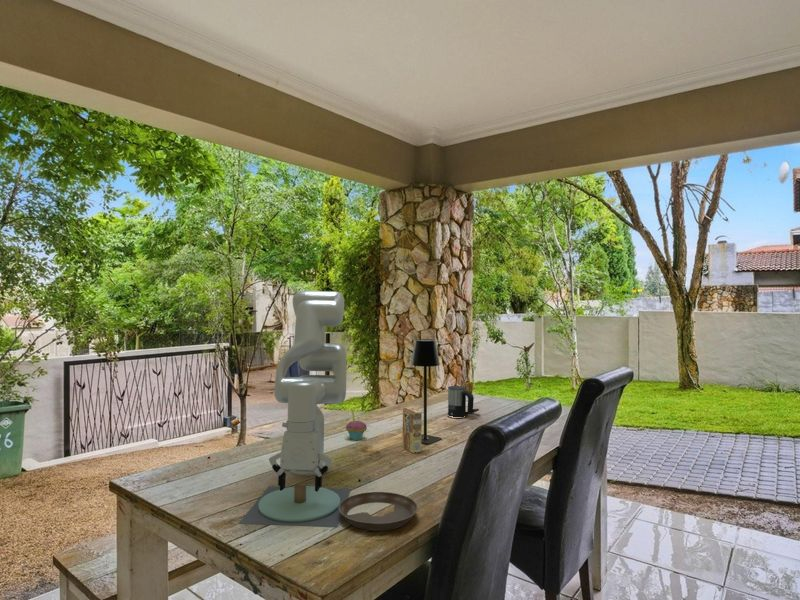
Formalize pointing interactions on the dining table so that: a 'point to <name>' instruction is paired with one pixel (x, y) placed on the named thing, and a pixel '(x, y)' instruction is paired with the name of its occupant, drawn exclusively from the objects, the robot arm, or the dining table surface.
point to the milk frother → (459, 401)
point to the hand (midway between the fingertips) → (300, 489)
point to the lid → (299, 504)
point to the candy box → (412, 429)
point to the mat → (329, 521)
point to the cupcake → (356, 429)
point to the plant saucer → (392, 520)
